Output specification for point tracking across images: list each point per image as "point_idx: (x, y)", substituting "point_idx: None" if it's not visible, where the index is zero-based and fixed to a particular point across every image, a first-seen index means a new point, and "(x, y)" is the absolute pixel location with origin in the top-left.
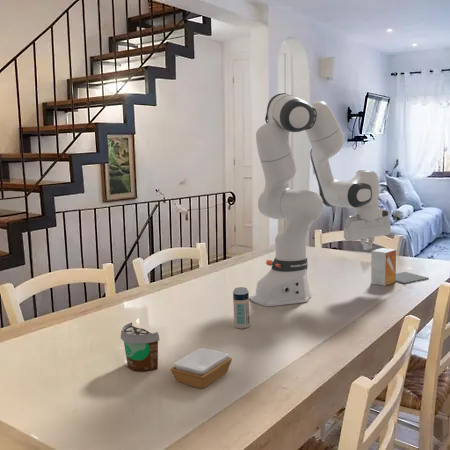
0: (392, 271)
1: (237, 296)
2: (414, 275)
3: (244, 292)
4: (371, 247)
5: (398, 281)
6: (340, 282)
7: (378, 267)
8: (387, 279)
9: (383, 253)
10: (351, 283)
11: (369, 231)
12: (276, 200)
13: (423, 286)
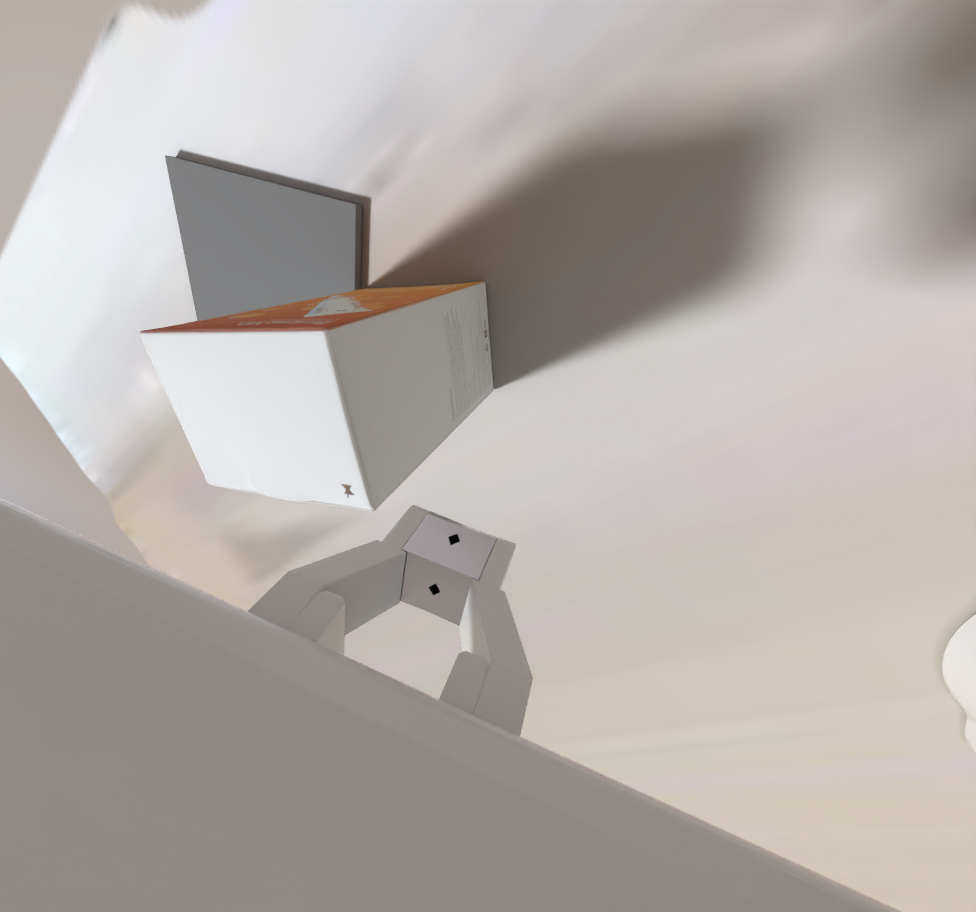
0: (352, 295)
1: None
2: (204, 265)
3: None
4: (414, 516)
5: (356, 264)
6: (588, 534)
7: (439, 371)
8: (442, 286)
9: (341, 360)
10: (568, 480)
11: (275, 908)
12: None
13: (302, 39)
